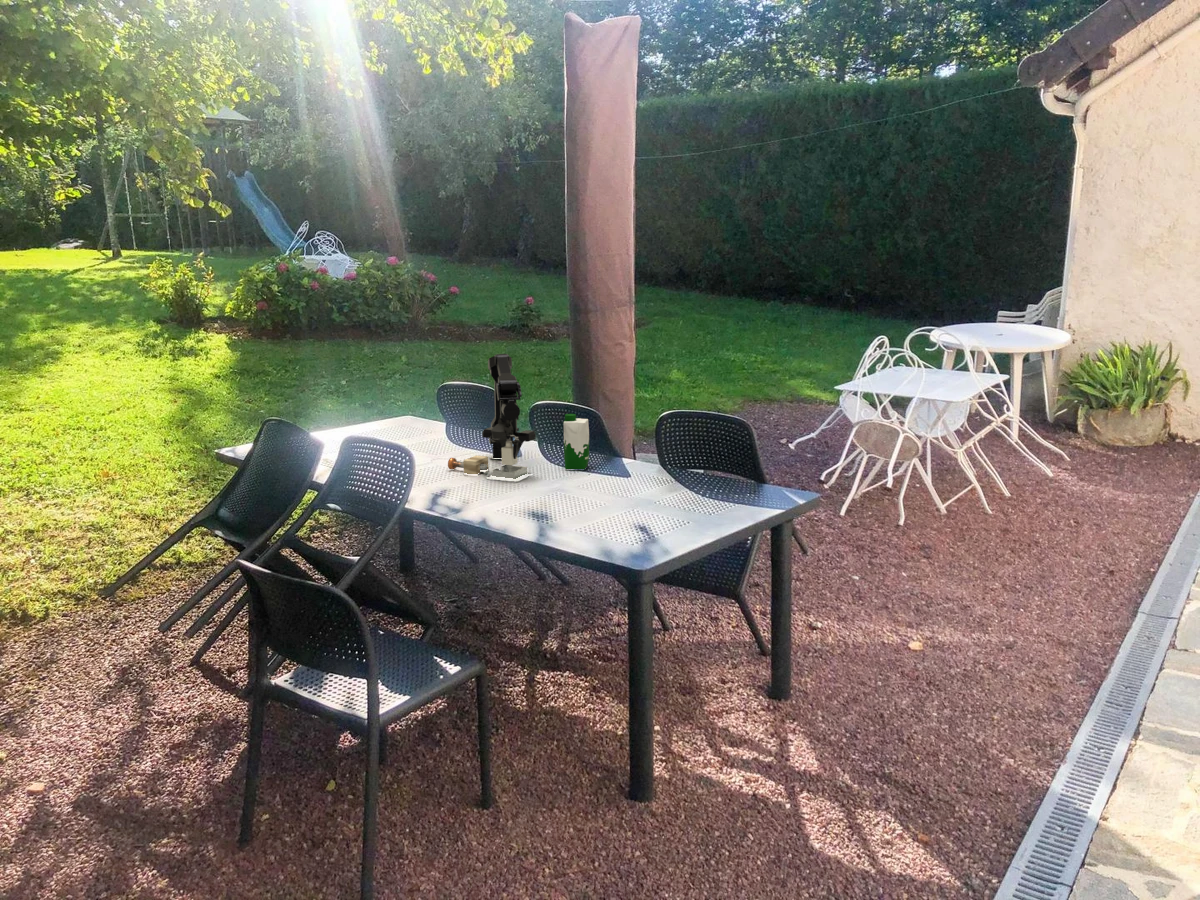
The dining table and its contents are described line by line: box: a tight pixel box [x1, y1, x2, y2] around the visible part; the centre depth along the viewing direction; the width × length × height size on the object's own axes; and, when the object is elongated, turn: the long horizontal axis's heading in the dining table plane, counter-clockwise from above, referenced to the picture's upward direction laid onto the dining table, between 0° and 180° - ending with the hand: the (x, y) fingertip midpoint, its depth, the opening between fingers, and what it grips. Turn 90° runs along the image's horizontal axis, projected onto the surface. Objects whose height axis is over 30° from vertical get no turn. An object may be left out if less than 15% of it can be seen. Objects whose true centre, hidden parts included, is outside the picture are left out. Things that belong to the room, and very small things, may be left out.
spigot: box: [501, 441, 518, 466], centre depth 335 cm, size 4×4×8 cm
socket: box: [491, 465, 528, 479], centre depth 336 cm, size 12×12×3 cm
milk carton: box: [563, 413, 590, 470], centre depth 346 cm, size 9×9×20 cm
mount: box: [462, 455, 489, 474], centre depth 342 cm, size 9×5×5 cm, turn 155°
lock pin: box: [447, 457, 487, 470], centre depth 343 cm, size 4×15×4 cm, turn 65°
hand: (509, 458), depth 335 cm, fingers closed on spigot, 4 cm apart
